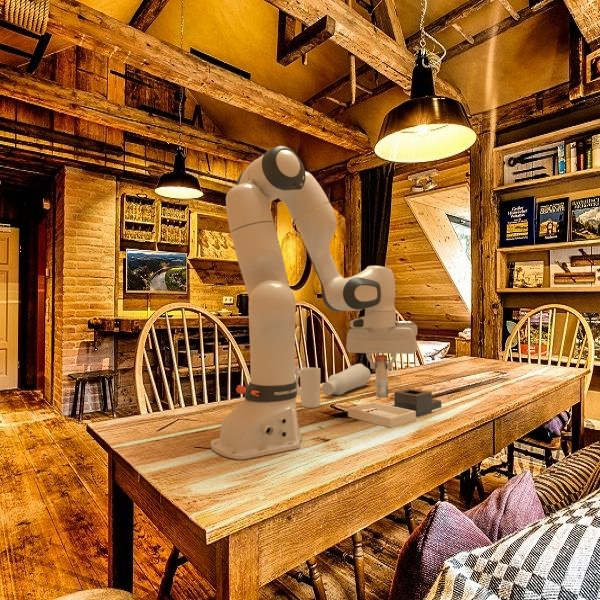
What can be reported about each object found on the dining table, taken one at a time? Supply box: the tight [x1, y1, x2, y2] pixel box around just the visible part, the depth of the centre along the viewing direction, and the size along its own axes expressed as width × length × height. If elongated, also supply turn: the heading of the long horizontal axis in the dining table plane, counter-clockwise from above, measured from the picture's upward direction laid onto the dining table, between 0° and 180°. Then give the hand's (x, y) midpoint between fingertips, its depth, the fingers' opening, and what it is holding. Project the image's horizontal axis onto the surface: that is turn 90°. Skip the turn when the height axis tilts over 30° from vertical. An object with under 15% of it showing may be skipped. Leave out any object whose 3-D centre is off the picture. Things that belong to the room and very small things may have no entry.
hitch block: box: [393, 388, 442, 418], centre depth 132 cm, size 16×8×6 cm, turn 131°
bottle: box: [321, 363, 372, 396], centre depth 160 cm, size 9×9×30 cm
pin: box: [374, 354, 389, 399], centre depth 122 cm, size 3×3×12 cm
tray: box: [347, 401, 417, 429], centre depth 122 cm, size 12×16×2 cm
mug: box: [295, 367, 321, 409], centre depth 139 cm, size 10×7×12 cm, turn 47°
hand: (381, 368), depth 122 cm, fingers closed on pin, 3 cm apart
